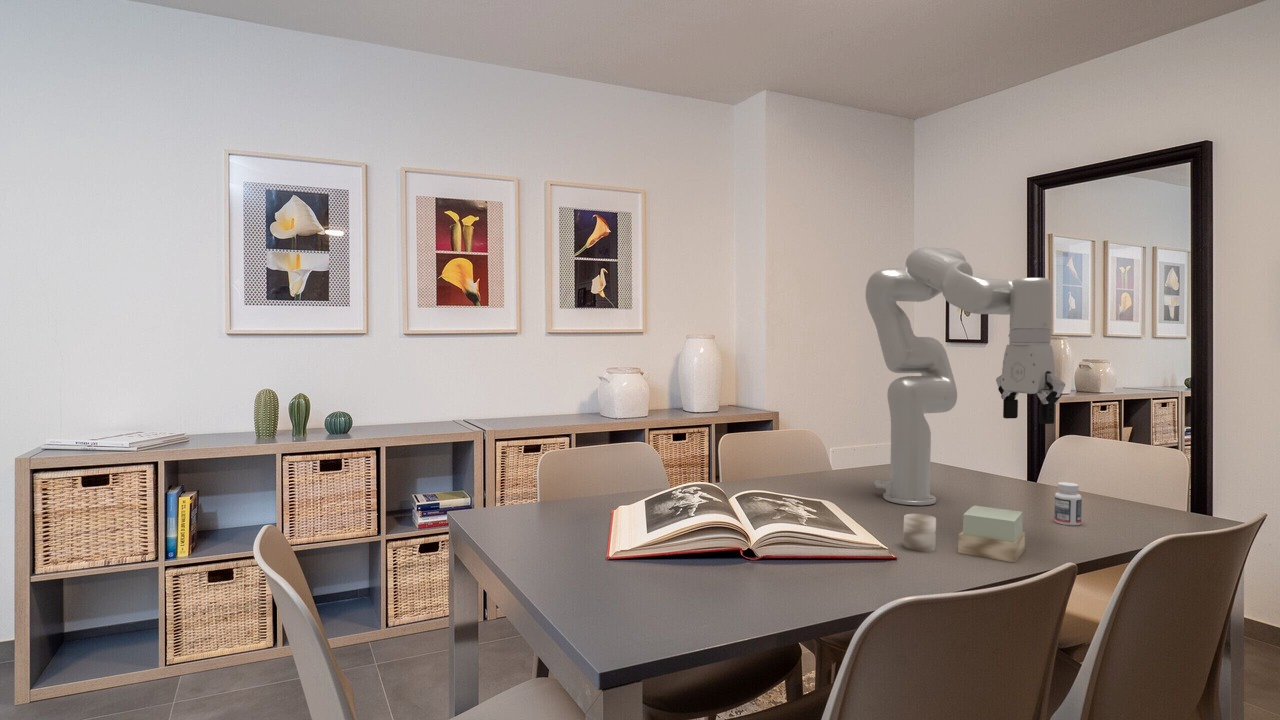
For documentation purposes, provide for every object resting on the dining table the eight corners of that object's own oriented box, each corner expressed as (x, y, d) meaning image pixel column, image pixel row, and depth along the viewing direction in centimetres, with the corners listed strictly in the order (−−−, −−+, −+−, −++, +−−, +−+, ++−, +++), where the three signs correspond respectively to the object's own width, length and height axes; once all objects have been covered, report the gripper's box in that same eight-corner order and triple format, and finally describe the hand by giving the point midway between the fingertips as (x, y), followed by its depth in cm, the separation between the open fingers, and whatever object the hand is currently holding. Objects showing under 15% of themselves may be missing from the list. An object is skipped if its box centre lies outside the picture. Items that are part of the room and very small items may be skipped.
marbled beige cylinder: (899, 547, 145) (899, 518, 145) (908, 541, 150) (909, 512, 150) (930, 553, 142) (931, 522, 141) (939, 546, 146) (939, 516, 146)
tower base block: (957, 554, 142) (958, 534, 142) (970, 543, 150) (970, 523, 150) (1014, 564, 136) (1015, 543, 136) (1024, 552, 144) (1024, 532, 144)
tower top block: (963, 534, 142) (963, 514, 142) (973, 524, 149) (973, 505, 149) (1014, 542, 137) (1014, 521, 137) (1022, 531, 144) (1022, 511, 144)
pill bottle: (1074, 520, 167) (1075, 481, 167) (1085, 526, 162) (1086, 486, 162) (1049, 519, 168) (1050, 481, 168) (1060, 525, 163) (1061, 486, 162)
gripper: (984, 337, 158) (982, 416, 159) (1048, 338, 141) (1045, 426, 142) (1013, 337, 160) (1011, 415, 160) (1079, 338, 143) (1077, 425, 144)
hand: (1027, 420), depth 151 cm, fingers open, 9 cm apart
